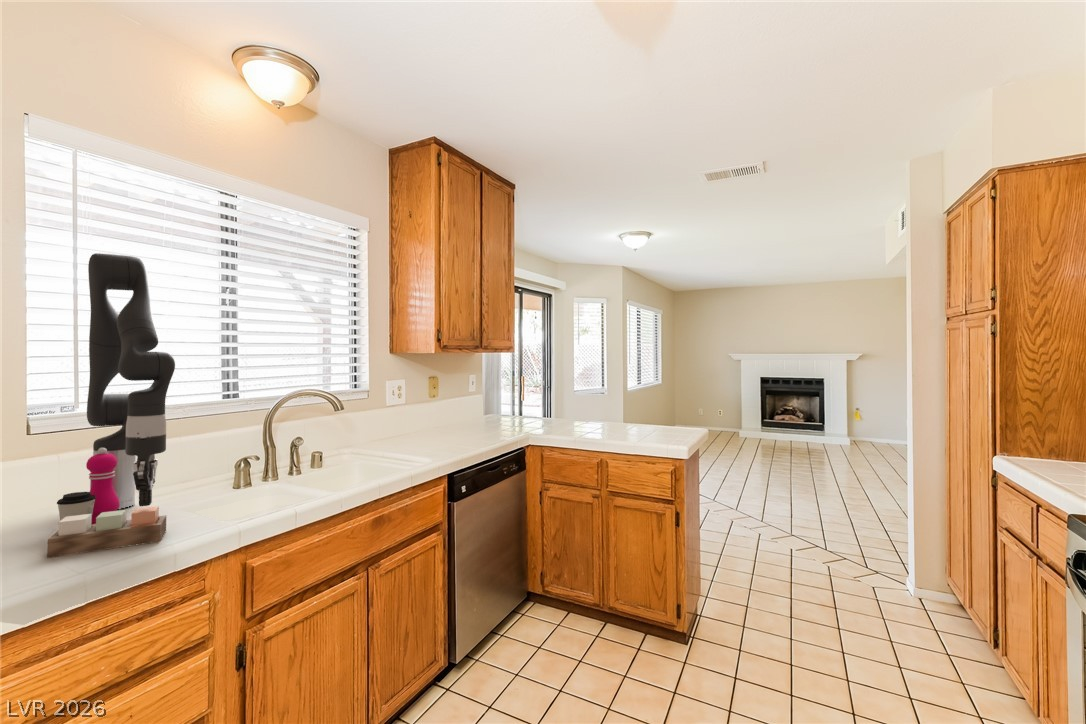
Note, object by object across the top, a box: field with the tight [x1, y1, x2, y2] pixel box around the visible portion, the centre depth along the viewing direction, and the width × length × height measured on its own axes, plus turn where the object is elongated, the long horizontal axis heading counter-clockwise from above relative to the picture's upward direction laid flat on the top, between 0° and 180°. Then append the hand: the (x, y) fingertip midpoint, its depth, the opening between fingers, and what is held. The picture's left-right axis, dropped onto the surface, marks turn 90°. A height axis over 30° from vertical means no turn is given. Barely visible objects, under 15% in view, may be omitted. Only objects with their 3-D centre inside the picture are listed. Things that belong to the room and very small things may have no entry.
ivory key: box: [58, 514, 92, 536], centre depth 108 cm, size 4×4×4 cm
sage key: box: [96, 509, 127, 531], centre depth 111 cm, size 4×4×4 cm
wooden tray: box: [46, 514, 167, 558], centre depth 111 cm, size 19×8×4 cm, turn 121°
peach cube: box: [130, 505, 160, 526], centre depth 114 cm, size 4×4×4 cm
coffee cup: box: [56, 491, 96, 522], centre depth 116 cm, size 7×7×10 cm
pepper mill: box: [85, 448, 120, 524], centre depth 125 cm, size 7×7×20 cm
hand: (145, 505), depth 114 cm, fingers closed
